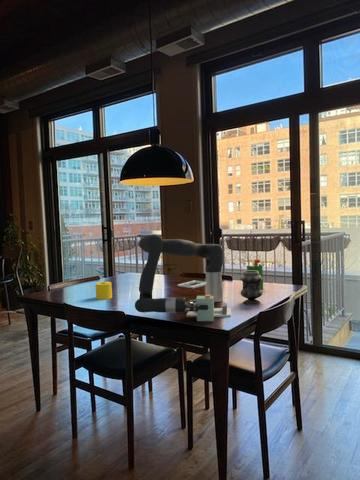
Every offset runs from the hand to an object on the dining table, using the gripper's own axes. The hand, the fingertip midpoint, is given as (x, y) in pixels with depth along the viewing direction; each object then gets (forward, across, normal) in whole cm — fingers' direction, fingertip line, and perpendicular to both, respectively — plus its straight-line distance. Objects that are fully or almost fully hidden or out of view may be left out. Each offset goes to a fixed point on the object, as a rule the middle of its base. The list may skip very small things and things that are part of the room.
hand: (208, 305), depth 182 cm
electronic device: (-17, +84, +8) cm, 86 cm away
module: (-2, 0, +7) cm, 7 cm away
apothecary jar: (+22, +32, +7) cm, 40 cm away
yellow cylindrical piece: (-70, +46, +7) cm, 85 cm away
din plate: (-1, +11, +7) cm, 13 cm away
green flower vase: (+26, +69, +7) cm, 74 cm away
